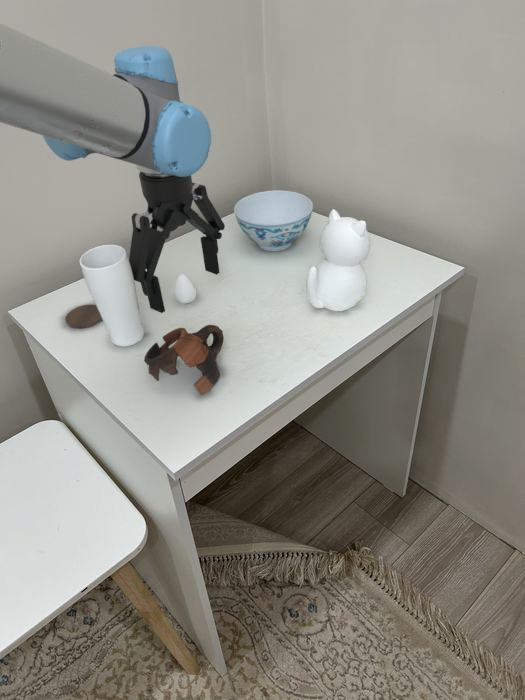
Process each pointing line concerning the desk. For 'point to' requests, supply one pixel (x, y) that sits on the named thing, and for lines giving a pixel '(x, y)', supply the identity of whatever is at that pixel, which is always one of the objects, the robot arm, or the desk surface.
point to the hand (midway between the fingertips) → (186, 290)
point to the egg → (184, 289)
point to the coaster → (83, 316)
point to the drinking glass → (113, 292)
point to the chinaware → (273, 217)
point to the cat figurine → (340, 265)
